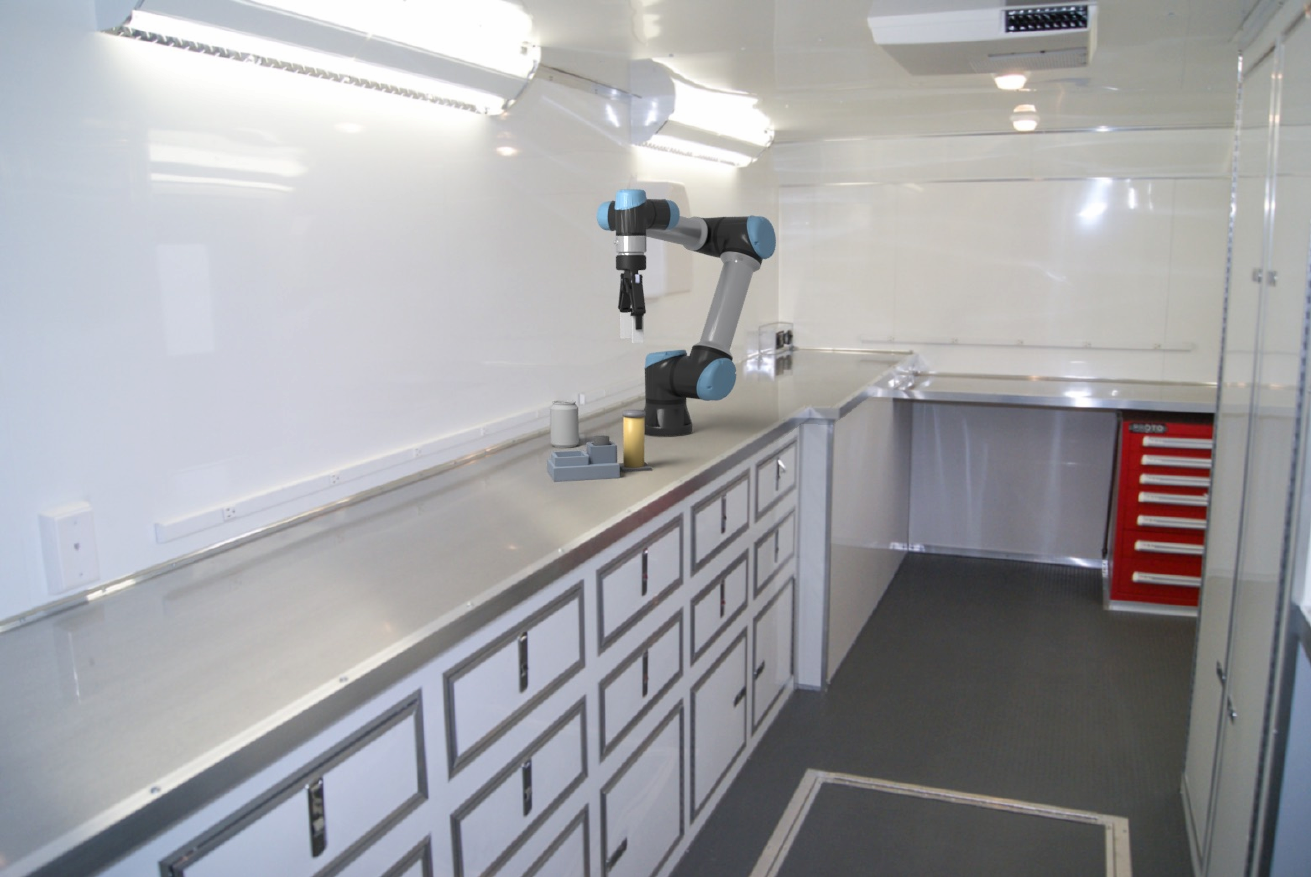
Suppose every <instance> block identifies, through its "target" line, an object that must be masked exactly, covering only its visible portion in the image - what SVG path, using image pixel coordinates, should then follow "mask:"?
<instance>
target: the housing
mask: <svg viewBox="0 0 1311 877" xmlns="http://www.w3.org/2000/svg"><path fill="white" fill-rule="evenodd" d="M585 447H586V451H585V450H581V449H578V450H577V449H576V450H558V451H557V450H555V451H550V458H547V459H546V469H547V470H546V471H547V473H548V475H549V477H551V479H552V480H553V482H554V483H557V482H572V481H588V480H591V481H592V480H605V479H606V480H607V479H620V478H621V477H620V476H621V475H620V471H621V470H620V467H619V464H618V445H617V444H616V443H615V442H614V441H612V440H611V441H610V440H609V445H605V446H594V441H588V442H587V441H586V446H585Z"/></svg>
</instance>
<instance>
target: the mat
mask: <svg viewBox="0 0 1311 877" xmlns="http://www.w3.org/2000/svg"><path fill="white" fill-rule="evenodd" d="M617 463H618V462H617ZM618 464H619V467H620V471H621V473H623V472H624V473H625V472H626V473H628V472H630V473H631V472H643V471H652V470H653V467H651V465H649V464H648V463H647V462H646V461H644V466H643V467H638V468H630V467H625V466H623V462H622V463H621V462H619V463H618Z"/></svg>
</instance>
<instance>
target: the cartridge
mask: <svg viewBox="0 0 1311 877" xmlns="http://www.w3.org/2000/svg"><path fill="white" fill-rule="evenodd" d="M645 413H646V412H645V411H644V409H643V410H642V409H625V410H622V417H623V425H622V426H623V430H622V431H623V433H622V434H623V436H622V438H623V439H622V440H623V444H622V445H623V446H622V447H623V450H622V452H623V462H622V463H623V466H625V467H630V468H638V467H643V466H644V462H645V443H646V442H645V440H646V439H645V436H646V435H645Z"/></svg>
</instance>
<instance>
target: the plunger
mask: <svg viewBox="0 0 1311 877" xmlns="http://www.w3.org/2000/svg"><path fill="white" fill-rule="evenodd" d="M609 441H610V436H609V435H595V436H593V442H594V446H605V445H609Z"/></svg>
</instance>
